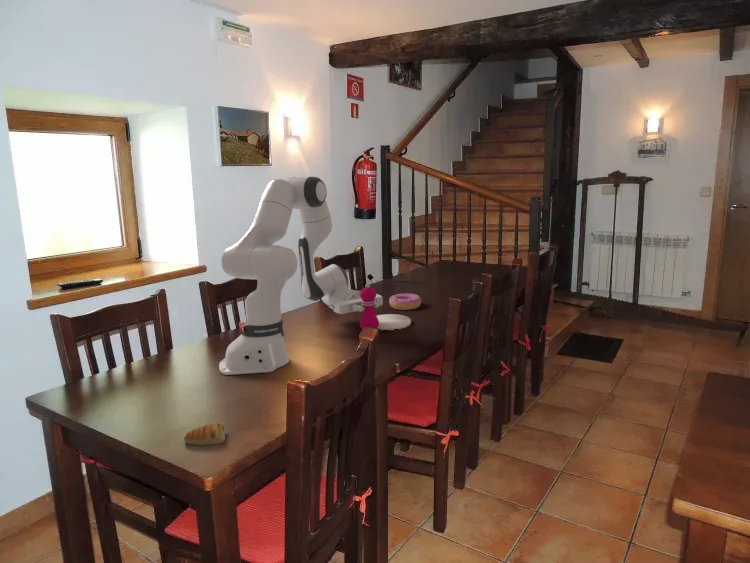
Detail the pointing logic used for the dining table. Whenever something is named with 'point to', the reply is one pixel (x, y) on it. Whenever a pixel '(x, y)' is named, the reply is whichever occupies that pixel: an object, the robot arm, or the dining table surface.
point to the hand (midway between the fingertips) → (370, 307)
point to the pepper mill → (368, 308)
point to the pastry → (206, 434)
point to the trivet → (393, 321)
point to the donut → (405, 301)
